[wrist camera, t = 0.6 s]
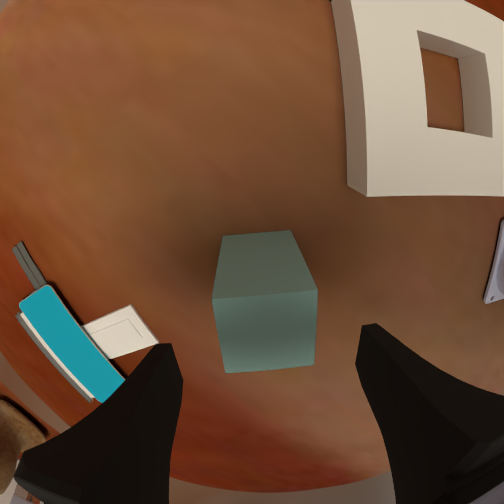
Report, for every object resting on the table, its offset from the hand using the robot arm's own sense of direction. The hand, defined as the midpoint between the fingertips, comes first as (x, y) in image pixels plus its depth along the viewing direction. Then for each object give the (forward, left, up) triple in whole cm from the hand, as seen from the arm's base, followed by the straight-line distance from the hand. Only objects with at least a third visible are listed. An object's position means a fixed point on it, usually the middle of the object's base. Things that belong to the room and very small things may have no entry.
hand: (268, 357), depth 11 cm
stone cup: (+39, +23, -8) cm, 46 cm away
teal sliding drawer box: (+14, +6, -9) cm, 18 cm away
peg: (0, 0, -8) cm, 8 cm away
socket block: (-12, -11, -8) cm, 18 cm away
